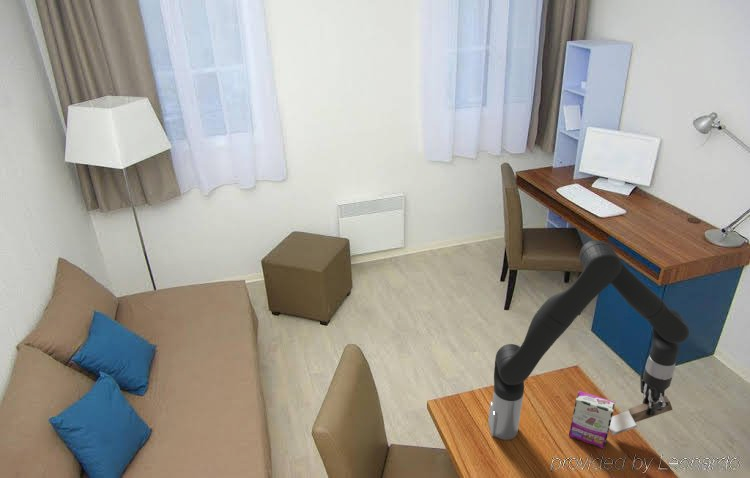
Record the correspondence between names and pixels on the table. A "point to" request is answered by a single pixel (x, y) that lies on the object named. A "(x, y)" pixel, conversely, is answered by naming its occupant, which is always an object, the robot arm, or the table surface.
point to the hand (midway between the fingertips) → (647, 411)
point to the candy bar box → (591, 419)
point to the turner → (633, 417)
